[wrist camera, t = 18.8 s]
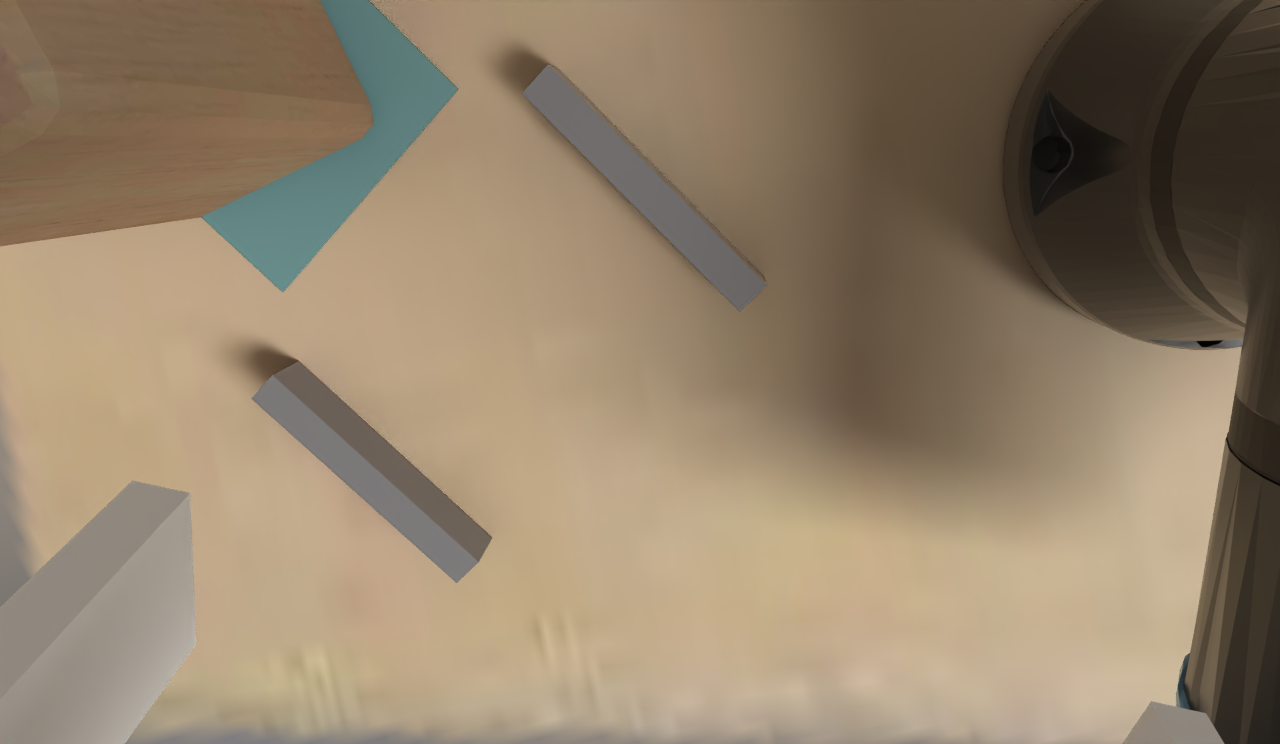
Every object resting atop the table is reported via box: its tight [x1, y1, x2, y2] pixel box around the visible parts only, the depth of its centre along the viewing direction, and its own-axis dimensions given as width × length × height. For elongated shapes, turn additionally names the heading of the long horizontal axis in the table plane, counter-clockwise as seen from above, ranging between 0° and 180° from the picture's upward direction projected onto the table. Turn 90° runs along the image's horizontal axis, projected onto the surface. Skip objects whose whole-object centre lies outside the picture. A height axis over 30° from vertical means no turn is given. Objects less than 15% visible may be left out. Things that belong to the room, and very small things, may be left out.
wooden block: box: [0, 0, 374, 246], centre depth 27 cm, size 10×10×20 cm
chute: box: [252, 64, 767, 583], centre depth 38 cm, size 12×19×2 cm, turn 136°
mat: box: [202, 0, 458, 292], centre depth 37 cm, size 12×12×1 cm
